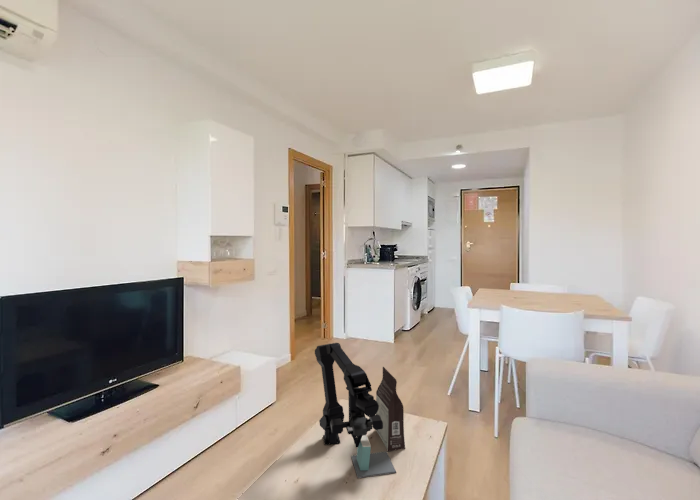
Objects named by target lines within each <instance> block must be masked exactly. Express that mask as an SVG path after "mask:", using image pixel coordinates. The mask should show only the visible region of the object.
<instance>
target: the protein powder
mask: <svg viewBox="0 0 700 500" xmlns="http://www.w3.org/2000/svg"><path fill="white" fill-rule="evenodd" d="M397 383H398V382H397V379H396V378H395V377H394V376H393V375H392V374H391V373H390V372H389V371H388V370H387V368H385V367H384V366H382V379H381V381H380V383H379V385H378V387H377V389H376V391H375V393H376V394H375V397H376V398H375V400H376V401H377V402H378V405H379V409H378V412H377V413H376V414H375V415H379V416H380V417H381V419H382V421H383V429H378V430H375V432H376V433H377V434H378V436H379V437H380V439H381V442H382V443H383V445H384V447H385V449H386V451H387V452H393V451H399V450H405V449H406V444H405V443H406V441H405V440H406V439H405V430H404V429H405V428H404V425H405V424H404V418H405V417H404V413H405V412H404V411H405V410H404V405H403V402H402V400H401V399H400V397H399V394H398V393H397Z"/></svg>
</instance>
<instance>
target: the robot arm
mask: <svg viewBox="0 0 700 500" xmlns="http://www.w3.org/2000/svg"><path fill="white" fill-rule="evenodd" d="M341 346H342V345H341V343H339V342H333V343H326V344H321V345H317V346H316V348H315V350H314V355H315V359H316V361H317V363H318V365H320V367H321V376H322V382H323V393H324V399H325V404H324V406H323V409H322V416H321V418H319V420H318V421H319V426H320V427H321V429H322V430H323V431H324V434H323V435H322V438H323V444H324V446H325V445H334V444H340V443H341V439H340V436H339V435H341V434H342V433H343V432H344V429H346V433H347V434H348V435H350V436H351V437H352V438H353V443H354V445H355V448H358V446H359V443H360V441H361V438H362V436H363V435H367V434H368V432H371V430H373V429H374V430H375V431H376V430H378V429H383V421H382V419H381V417H380V416H379V415H376V413H377V412H378V409H379V405H378V402H377V401H376V399H374V398H375V396H374V395H372V394H370V392H372V391H373V389H372V384H371V382H370V379H369V377H368V375H367V373H366V371H365V370H364V369H363V368H362V367H361V366H359V365H357V364H354V363H353V362H352V360H351V359H350V358H349V356H348V355H347V354H346V352H345V351H344V349H342V347H341ZM335 363H336V364H337V366H338V368H340V370H341V372H342V374H343V381H344V382H345V385H346V387H345V389H346V390H347V391H348V421H344V420H345V414H344V407H343V406H342V405H341V404H340V403H339V402H338V397H337V396H338V394H337V387H336V381H335V373H334V364H335ZM367 417H369V418H367Z"/></svg>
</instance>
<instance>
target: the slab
mask: <svg viewBox="0 0 700 500" xmlns="http://www.w3.org/2000/svg"><path fill="white" fill-rule="evenodd" d="M371 447H372V445H371V443H370V440H369V437H368V435H367V434H366V435H363V436H362V438H361V441H360V443H359V446H358V447H356V448H357V449H356V455H357V458H356V459H357V462H358V465H359V468H360V470H368V469H369V460H370V453H371V449H372V448H371Z"/></svg>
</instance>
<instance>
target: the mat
mask: <svg viewBox="0 0 700 500" xmlns="http://www.w3.org/2000/svg"><path fill="white" fill-rule="evenodd" d="M356 458H357V454H355V455H351V461H352V464H353V467H354V470H355V474H356V477H357V479H361V478H368V477H369V478H370V477H376V476H383V475H391V474H397V471H396V468H395V465H394V464H393V462H392V460H391V458H390V456H389V453H388V451H387V450H386V451H378V452H370V460H369V469H368V470H360V468H359V465H358V462H357V459H356Z"/></svg>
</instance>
